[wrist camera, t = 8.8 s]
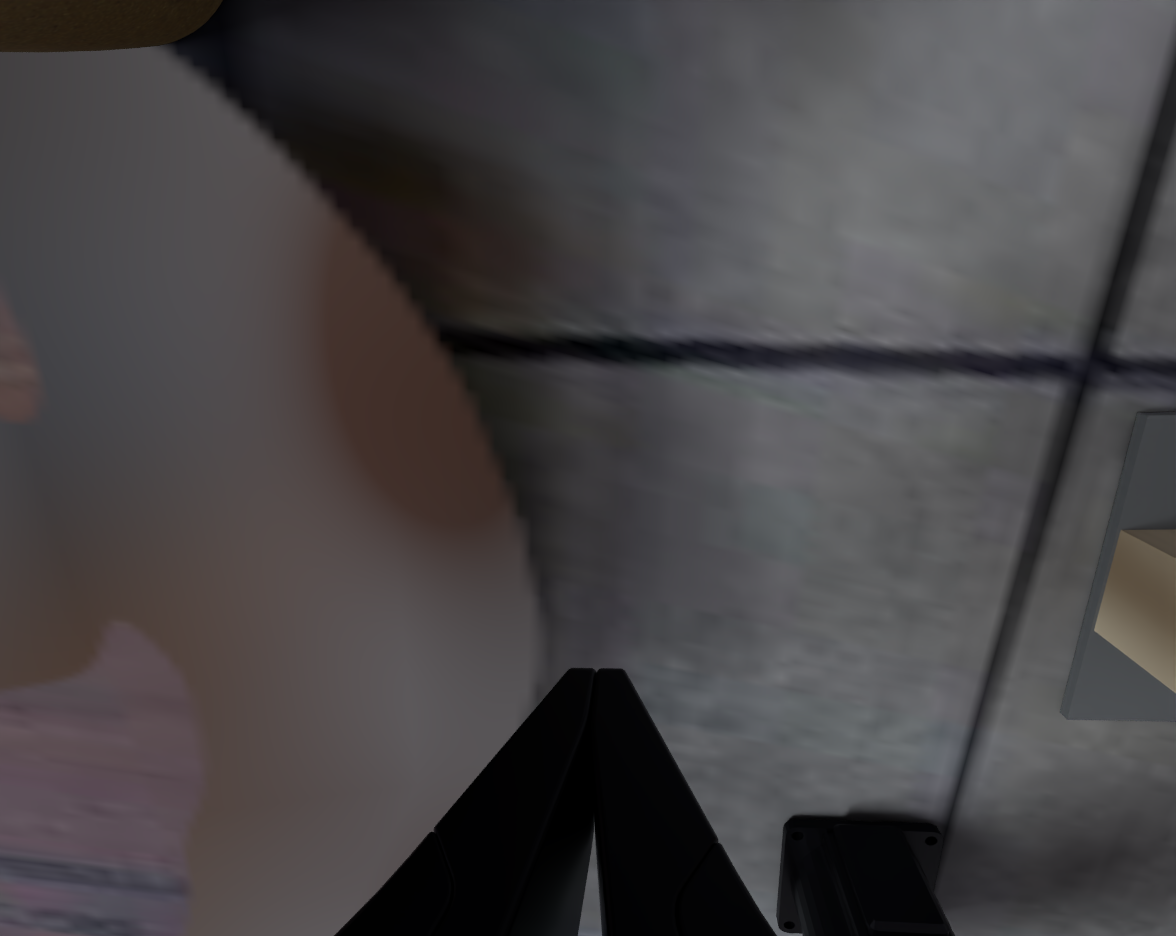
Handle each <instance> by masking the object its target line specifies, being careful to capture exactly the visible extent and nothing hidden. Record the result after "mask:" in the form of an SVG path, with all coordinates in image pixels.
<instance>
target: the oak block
mask: <svg viewBox="0 0 1176 936" xmlns="http://www.w3.org/2000/svg"><path fill="white" fill-rule="evenodd" d="M1094 631H1095V632H1097V633H1098V634H1099V635H1100V636H1102V637H1103V638H1104V639H1106V640H1107V641H1108V642H1110V643H1111V644H1112V645H1113V646H1115V647H1116V648H1117V649H1119V650H1120V651H1121V652H1123V653H1124V654H1125V655H1126V656H1128V657H1129V658H1130V659H1132V660H1133V661H1134V662H1136V663H1137V664H1138V665H1139V666H1141V667H1142V668H1143V669H1145V670H1146V671H1147V672H1149V673H1150V674H1151V675H1152V676H1154V677H1155V678H1156V679H1158V680H1159V681H1160V682H1162V683H1163V684H1164V685H1165V686H1167V687H1168V688H1169V689H1171V690H1172V691H1173V692H1175V693H1176V529H1170V530H1121V531H1120V535H1119V538H1118V542H1117V546H1116V550H1115V553H1114V557H1113V561H1112V565H1111V569H1110V572H1109V576H1108V580H1107V584H1106V587H1105V591H1104V595H1103V599H1102V602H1101V606H1100V610H1099V614H1098V617H1097V621H1096V625H1095V629H1094Z"/></svg>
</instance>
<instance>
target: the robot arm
mask: <svg viewBox="0 0 1176 936" xmlns="http://www.w3.org/2000/svg"><path fill="white" fill-rule="evenodd" d="M594 822H595V839H596V855H597V869H598V883H599V897H600V911H601V925H602V936H777V935H776V934H775V932H774V931H773V929H772V928H771V926H770V925H769V923H768V922H767V920H766V919H765V917H764V916H763V914H762V913H761V911H760V910H759V908H758V906H757V905H756V903H755V901H754V900H753V898H752V896H751V895H750V893H749V891H748V890H747V888H746V886H745V885H744V883H743V881H742V880H741V878H740V876H739V875H738V873H737V871H736V869H735V868H734V866H733V864H732V862H731V860H730V859H729V857H728V855H727V853H726V851H725V850H724V848H723V846H722V845H721V844H720V843H718V838H717V836H716V834H715V832H714V830H713V829H712V827H711V825H710V823H709V821H708V820H707V818H706V816H705V814H704V812H703V811H702V809H701V807H700V805H699V803H698V801H697V800H696V798H695V796H694V794H693V792H692V791H691V789H690V787H689V785H688V783H687V782H686V780H685V778H684V776H683V774H682V773H681V771H680V769H679V767H678V765H677V764H676V762H675V760H674V758H673V756H672V755H671V753H670V751H669V749H668V747H667V745H666V744H665V742H664V740H663V738H662V736H661V735H660V733H659V731H658V729H657V727H656V726H655V724H654V722H653V720H652V718H651V717H650V715H649V713H648V711H647V709H646V708H645V706H644V704H643V702H642V700H641V699H640V697H639V695H638V693H637V691H636V690H635V688H634V686H633V684H632V682H631V680H630V679H629V677H628V675H627V673H626V672H625V671H624V670H623V669H613V668H601V669H599V670H598V671H597V673H596V671H595V669H593V668H571V669H569V670H568V671H567V672H566V673H565V674H564V675H563V676H562V677H561V679H560V680H559V681H558V682H557V683H556V685H555V686H554V687H553V688H552V689H551V690H550V692H549V693H548V694H547V695H546V696H545V697H544V699H543V700H542V701H541V702H540V703H539V705H538V706H537V707H536V708H535V709H534V710H533V712H532V713H531V714H530V715H529V716H528V717H527V719H526V720H525V721H524V722H523V723H522V725H521V726H520V727H519V728H518V729H517V730H516V732H515V733H514V734H513V735H512V736H511V737H510V739H509V740H508V741H507V742H506V743H505V745H504V746H503V747H502V748H501V749H500V750H499V752H498V753H497V754H496V755H495V756H494V757H493V759H492V760H491V761H490V762H489V763H488V765H487V766H486V767H485V768H484V769H483V770H482V772H481V773H480V774H479V775H478V776H477V778H476V779H475V780H474V781H473V782H472V784H471V785H470V786H469V787H468V788H467V789H466V791H465V792H464V793H463V794H462V795H461V796H460V798H459V799H458V800H457V801H456V802H455V804H454V805H453V806H452V807H451V808H450V809H449V810H448V812H447V813H446V814H445V815H444V816H443V818H442V819H441V820H440V821H439V822H438V824H437V825H436V826H435V827H434V832H430V833H429V834H428V835H427V836H426V837H425V838H424V839H423V841H422V842H421V843H420V844H419V845H418V847H417V848H416V849H415V850H414V851H413V852H412V854H411V855H410V856H409V857H408V858H407V859H406V860H405V861H404V863H403V864H402V865H401V866H400V867H399V868H398V869H397V871H396V872H395V873H394V874H393V875H392V876H391V877H390V878H389V879H388V880H387V882H386V883H385V884H384V885H383V886H382V887H381V888H380V890H379V891H378V892H377V893H376V894H375V895H374V896H373V897H372V898H371V899H370V900H369V901H368V902H367V903H366V904H365V905H364V906H363V907H362V908H361V909H360V910H359V911H358V912H357V913H356V914H355V915H354V916H353V917H352V918H351V919H350V920H349V921H348V922H347V923H346V924H345V925H344V926H343V927H342V928H341V929H340V930H339V931H338V932H337V933H336V934H335V935H334V936H578V930H579V924H580V917H581V911H582V905H583V899H584V892H585V886H586V880H587V873H588V867H589V861H590V855H591V848H592V841H593V833H594ZM943 842H944V840H943V836H942V835H941V833H940V831H939V829H938V828H937V826H935V825H933V824H927V823H898V822H869V821H840V820H810V819H791V820H789V821H787V822H786V823H785V824H784V827H783V839H782V851H781V863H780V876H779V888H778V900H777V913H776V917H777V921H778V926H779V928H780V930H782V931H784V932H787V933H802V934H803V936H955V935H954V933H953V931H952V929H951V926H950V924H949V922H948V920H947V918H946V916H945V914H944V912H943V910H942V908H941V906H940V904H939V902H938V900H937V898H936V896H935V894H934V887H935V882H936V877H937V872H938V867H939V862H940V857H941V852H942V847H943Z"/></svg>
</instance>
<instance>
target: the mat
mask: <svg viewBox="0 0 1176 936" xmlns="http://www.w3.org/2000/svg"><path fill="white" fill-rule="evenodd" d="M1170 529H1176V412H1148V413H1137V416H1136V420H1135V424H1134V428H1133V432H1132V435H1131V439H1130V443H1129V447H1128V451H1127V455H1126V459H1125V463H1124V466H1123V470H1122V474H1121V478H1120V482H1119V486H1118V490H1117V493H1116V497H1115V501H1114V505H1113V509H1112V513H1111V517H1110V520H1109V524H1108V528H1107V532H1106V536H1105V540H1104V544H1103V547H1102V551H1101V555H1100V559H1099V563H1098V567H1097V571H1096V574H1095V578H1094V582H1093V586H1092V590H1091V594H1090V598H1089V601H1088V605H1087V609H1086V613H1085V617H1084V621H1083V625H1082V628H1081V632H1080V636H1079V640H1078V644H1077V648H1076V652H1075V655H1074V659H1073V663H1072V667H1071V671H1070V675H1069V679H1068V682H1067V686H1066V690H1065V694H1064V698H1063V702H1062V706H1061V709H1060V713H1061V714H1062V715H1063V716H1064V717H1065V718H1066V719H1067V720H1117V721H1170V722H1176V693H1175V692H1173V691H1172V690H1171V689H1169V688H1168V687H1167V686H1165V685H1164V684H1163V683H1162V682H1160V681H1159V680H1158V679H1156V678H1155V677H1154V676H1152V675H1151V674H1150V673H1149V672H1147V671H1146V670H1145V669H1143V668H1142V667H1141V666H1139V665H1138V664H1137V663H1136V662H1134V661H1133V660H1132V659H1130V658H1129V657H1128V656H1126V655H1125V654H1124V653H1123V652H1121V651H1120V650H1119V649H1117V648H1116V647H1115V646H1113V645H1112V644H1111V643H1110V642H1108V641H1107V640H1106V639H1104V638H1103V637H1102V636H1100V635H1099V634H1098V633H1097V632H1095V631H1094V629H1095V625H1096V621H1097V617H1098V614H1099V610H1100V606H1101V602H1102V599H1103V595H1104V591H1105V587H1106V584H1107V580H1108V576H1109V572H1110V569H1111V565H1112V561H1113V557H1114V553H1115V550H1116V546H1117V542H1118V538H1119V535H1120V531H1121V530H1170Z"/></svg>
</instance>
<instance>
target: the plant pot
mask: <svg viewBox="0 0 1176 936" xmlns="http://www.w3.org/2000/svg"><path fill="white" fill-rule="evenodd" d="M222 1H223V0H0V52H68V51H101V50H115V49H129V48H140V47H150V46H160V45H164V44H169V43H172V42H175V41H177V40H179V39H181V38H183V37H185V36H187V35H189V34H191V33H193V32H194V31H196V30H197V29H198V28H200V27H201V26H202V25H204V24H205V23H206V22H207V21H208V20H209V19H210V17H211V16H212V15H213V14H214V13H215V12H216V10H217V9H218V7H219V6H220V4H221V2H222Z"/></svg>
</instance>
